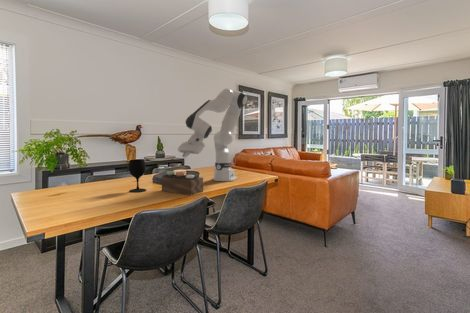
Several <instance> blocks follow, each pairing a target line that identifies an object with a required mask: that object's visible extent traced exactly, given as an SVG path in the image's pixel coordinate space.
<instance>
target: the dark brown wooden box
mask: <svg viewBox="0 0 470 313" xmlns="http://www.w3.org/2000/svg"><path fill="white" fill-rule="evenodd" d="M166 191H167V192H168V193H175V194H179V193H180V195H186V196H187V195H188V196H193V195H197V194H200V193H202V192H204V177H200V176H194V178H191V179H190V178H186V175H184V176H176V174H175V175H167V174H164V175H162V176H161V192H166ZM167 192H166V193H167Z"/></svg>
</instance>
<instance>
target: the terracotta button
mask: <svg viewBox="0 0 470 313" xmlns="http://www.w3.org/2000/svg"><path fill="white" fill-rule="evenodd" d="M175 175H176V176H185V172H184V171H176V173H175Z"/></svg>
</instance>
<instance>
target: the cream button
mask: <svg viewBox="0 0 470 313" xmlns="http://www.w3.org/2000/svg"><path fill="white" fill-rule="evenodd" d="M185 176H186V178H190V179H191V178H194V177H195V175H194V174H185Z"/></svg>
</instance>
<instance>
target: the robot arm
mask: <svg viewBox="0 0 470 313" xmlns="http://www.w3.org/2000/svg"><path fill="white" fill-rule="evenodd" d="M248 98H249V97H248V94H247V93H245V92H242V91H239V90H236V89H230V88H224V89H222V90H221V91H220V92H219V94H217V95H216V97H215V98H214V99H208V100H207V101H205V102H204V103H203V104H201V105H200V106H199V107H198V108H197V109H196V110H195V111H194V112H192V113H191V114H190V115H188V116H187V117H186V119H185V124H186V127H187V128H188V129H189V130H192V131H193V132H194V133H193V134H192V135H191V136H190V137H189V138H188V140H187V141H185V142H181V144H180V145H179V146H178V147H177V151H178V152H179V153H182V155H181V156H182V158H186V159H187V157H188V156H190V155H191V154H192V155H193V154H194V155H199V154H201V153H202V151H203V149H204V148H205V147H206V145H205V143H204V142H203V141H204V140H205V139H207V138H209V136H210V134H211V133H212V131H213V129H212V125H211V124H209V122H206V121H205V120H203V119H202V118H201V117H200V116H201V115H202V114H203V113H204V112H206V111H210V112H215V113H224V112H225V111H226V112H225V114H224V116H223V118H222V121H221V127H220V130H219V131H216V132H215V134H214V136H213V142H214V143H213V144H214V149H215V151H214V152H215V162H214V170H213V176H212V180H213V181H216V182H233V181H235V180H237V179H239V178H238V176H236V172H235V170H234V169H233V168H232V167H231V166H232V165H233V162H230V157H231V156H230V150H229V145H230V144H231V143H232V142H233V141H234V140H233V139H234V138H233V136H234V132H235V129H236V126H237V123H238V120H239V117H240V115H241V112H242V109H243V107H245V106H246V105H247V103H248Z"/></svg>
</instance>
